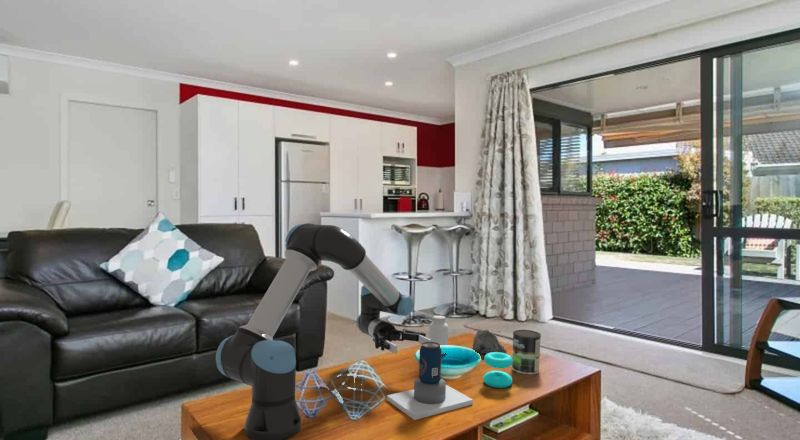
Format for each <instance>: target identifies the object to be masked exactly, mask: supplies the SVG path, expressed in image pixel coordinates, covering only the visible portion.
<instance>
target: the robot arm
mask: <svg viewBox="0 0 800 440" xmlns="http://www.w3.org/2000/svg"><path fill="white" fill-rule="evenodd" d="M284 240H285V245H284V246H285V251H284V256H285V260H284V262H283V263H282V265H281V267H280V268H279V270H278V271H277V274H276V275H275V277H274V279H273V280H272V282H271V284H270V285H269V286H268V289H267V291H266V292H265V293H264V295H263V297H262V299H261V300H260V302H259V303H258V305H257V306H256V309H255V310H254V312H253V314H252V315H251V317H250V319H249V320H248V321H247V324H244V325H241V326H239V327H238V329H237V330H236V332H235V334H234V335H230V336H228V337H226V338H225V339H223V340H222V341H221V342H220V343H219V345H218V347H217V348H216V349H217V350H216V353H215V363H216V367H217V370H218V371H219V372H220V373H221V374H222V375H224V376H225V377H227V378H229V379H231V380H233V381H237V382H240V383H242V384H245V385H247V386H250V387H251V405H250V407H249V410H248V412H247V413H248V414H247V416H246V419H245V423H244V433H245V435H246V437H247V438H249V439H251V440H286V439H288V438H291V437H293V436H295V435H296V434H298V433H299V432H300V431H301V429H302V416H301V413H300V410H299V406H298V405H297V401H296V377H297V375H296V371H297V369H296V368H297V359H296V349H295V348H294V347H293V346H292V345H291V344H290V343H288V342H286V341H284V340H279V339H278V340H275V339H273V337H274V336H275V334H276V332H277V331H278V328H279V326H280V325H281V323H282V322H283V319H284V318H285V316H286V314H287V312H288V310H289V309H290V307H291V305H292V304H293V301H294V300H295V298H296V296H297V295H298V293H299V290H300V289H301V287H302V285H303V284H304V282H305V280H306V278H307V277H308V275H309V273H310V272H312V271H316V270H317V269H318V266H319V265H320V263H321V261H324V262H331V263H334V264H337V265H339V266H340V268H342V269H343V270H345V271H349V272H350V273H351V274H352V275H353V276H354V277H355V278H356V279H357V280H358V281H359V282H360V283H361V284H362V286H361V288H360V289H361V290H360V292H361V293H360V313H359V315H358V316H357V318H356V321H355V324H356V328H357V329H358V330H359V331H360V332H361V333H363V334H365V335H368V336H369V337H371V338H372V341H373V342H374V348H375V349H379V348H380V351H382V352H383V351H385V350H387V351H389V352H391V353H392V354H394V355H398V345H397V344H395V343H393V342H397V341H398V342H403V341H410V342H411V341H412V342H418V344H420V345H422V343H424V342H431V339H429V337H427V334H426V333H425V332H422V331H414V330H409V329H407V328H403V329H402V330H398V329H397V328H396V327H395V326H394V324H393V323H390V322H388V321H386V320H384V319H382V318H381V312H382V313H386V314H392V315H396V316H399V317H400V316H403V317H407V316H409V315H410V314H411V313H412V311H413V309H414V300H413V298H412V297H411V296H410V295H407V294H402V293H401V292H400V291H399V290H398V288H396V287H395V285H394V284H393V283H392V282H391V280H389V278H388V277H386V275H385V274H384V273H383V272H382V271H381V270H380V268H379V267H378V266H376V264H375V263H374V262H373V261H372V260H371V258H370V257H369V256H368V255H367V251H366V249H365V247H364V246H363V245H362V244H361V243H360V242H359V240H357V239H356V238H355V237H354V236H353V235H352V234H350V233H349V232H348V231H346V230H344V229H343V228H341V227H339V226H338V225H337V226H336V225H332V224H314V223H311V222H306V223H300V224H296V225H294V226H293V227H291V228H290V230H289V231H288V232H287V235H286V237H285V239H284Z"/></svg>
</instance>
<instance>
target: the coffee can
mask: <svg viewBox="0 0 800 440" xmlns="http://www.w3.org/2000/svg"><path fill="white" fill-rule="evenodd" d="M512 336H513V337H512V356H511V357H512V359H513V363H512V365H511V369H513V370H512V371H513V372H515V371H516V372H515V373H517V374H521V373H522V375H529V374H530V375H536V373H537V374H539V373H540V360H541V359H540V357H541V337H542V334H541V333H540V332H538V331H535V330H530V329H516V330H514V331H512ZM538 372H539V373H538Z"/></svg>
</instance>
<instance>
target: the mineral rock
mask: <svg viewBox="0 0 800 440" xmlns="http://www.w3.org/2000/svg"><path fill="white" fill-rule="evenodd" d="M471 349H473V350H475V351H477V352H476V353H479V354H485V355H486V354H488V353H491V352H500V353H505V354H508V351H507V349H505V347H504V346H503V345H502V344H501V343H500V342H499V339H498V337H497V336H496V335H495V334H493V333H492V332H491V331H490V330H488V329H485V330H477V331H476V333H475V335H474V338H473V343H472V348H471ZM473 350H472V351H473Z"/></svg>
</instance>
